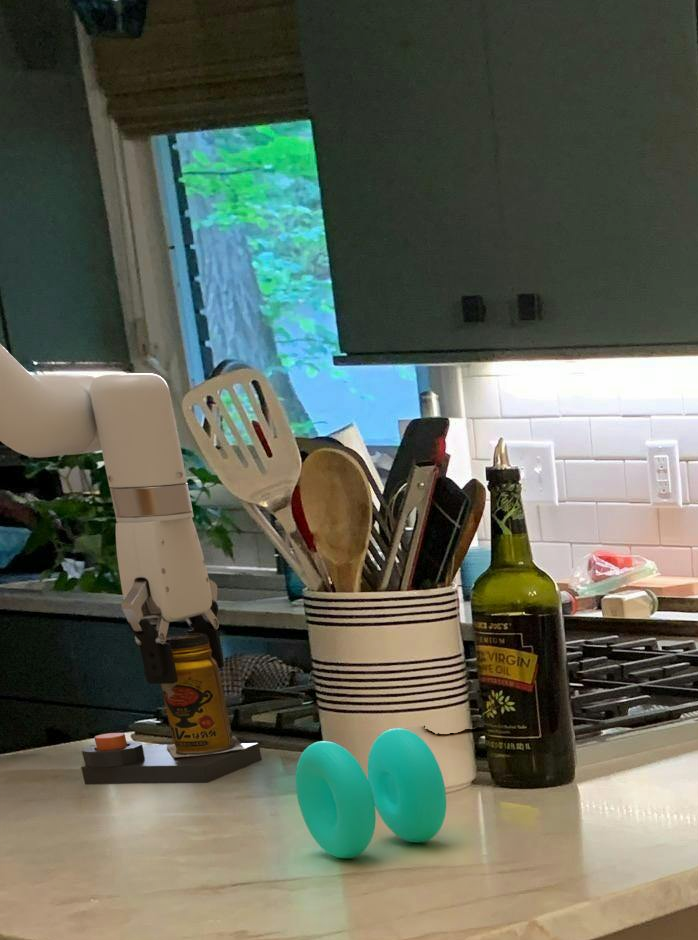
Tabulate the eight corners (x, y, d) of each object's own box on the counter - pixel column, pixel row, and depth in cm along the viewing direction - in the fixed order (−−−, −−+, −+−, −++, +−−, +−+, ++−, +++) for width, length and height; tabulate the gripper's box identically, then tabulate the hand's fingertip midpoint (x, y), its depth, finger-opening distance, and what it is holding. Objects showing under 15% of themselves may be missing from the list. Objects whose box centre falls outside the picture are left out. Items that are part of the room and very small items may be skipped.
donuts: (460, 846, 170) (442, 731, 166) (357, 869, 164) (336, 750, 160) (403, 831, 177) (384, 720, 173) (301, 852, 171) (280, 738, 166)
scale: (78, 786, 203) (70, 752, 202) (140, 762, 214) (134, 730, 213) (205, 784, 201) (198, 750, 199) (262, 760, 212) (256, 728, 211)
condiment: (174, 759, 204) (149, 642, 199) (166, 747, 211) (142, 633, 206) (245, 751, 207) (223, 635, 202) (235, 739, 214) (213, 627, 209)
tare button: (91, 753, 203) (88, 738, 202) (107, 747, 206) (104, 732, 205) (118, 752, 202) (114, 737, 202) (133, 747, 205) (130, 732, 204)
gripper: (162, 499, 206) (195, 663, 213) (71, 513, 191) (110, 690, 198) (227, 496, 205) (258, 662, 212) (141, 510, 190) (178, 688, 197)
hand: (186, 675), depth 205 cm, fingers open, 9 cm apart
